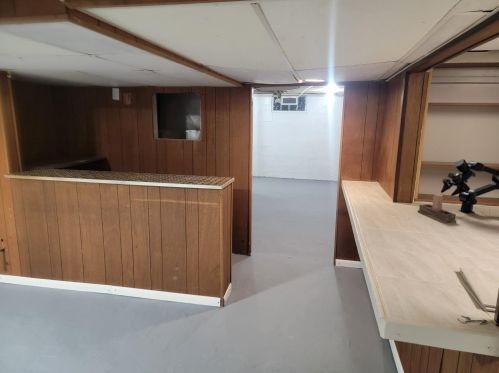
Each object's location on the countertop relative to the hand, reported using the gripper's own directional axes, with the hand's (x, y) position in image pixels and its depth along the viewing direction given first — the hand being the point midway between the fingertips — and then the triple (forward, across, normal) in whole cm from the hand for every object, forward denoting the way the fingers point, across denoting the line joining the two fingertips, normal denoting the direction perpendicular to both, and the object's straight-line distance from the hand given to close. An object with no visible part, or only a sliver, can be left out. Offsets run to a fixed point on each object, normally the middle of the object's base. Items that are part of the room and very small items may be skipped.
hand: (446, 194), depth 208 cm
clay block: (+16, +8, 0) cm, 18 cm away
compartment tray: (+17, +8, +1) cm, 19 cm away
